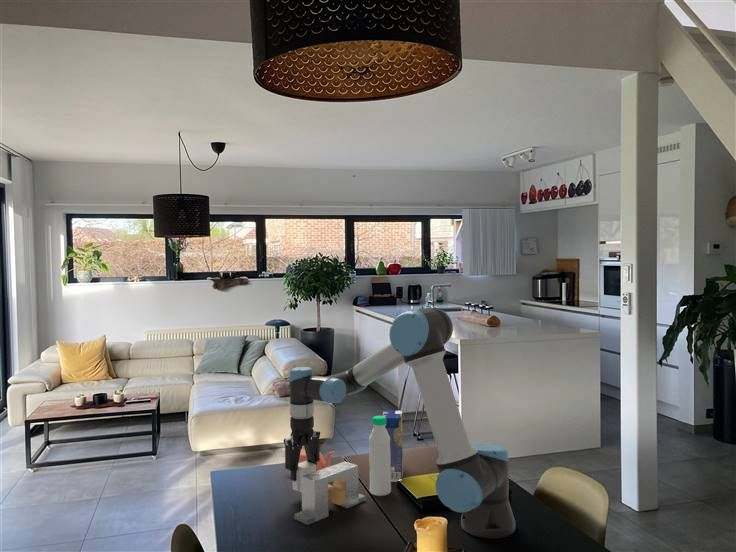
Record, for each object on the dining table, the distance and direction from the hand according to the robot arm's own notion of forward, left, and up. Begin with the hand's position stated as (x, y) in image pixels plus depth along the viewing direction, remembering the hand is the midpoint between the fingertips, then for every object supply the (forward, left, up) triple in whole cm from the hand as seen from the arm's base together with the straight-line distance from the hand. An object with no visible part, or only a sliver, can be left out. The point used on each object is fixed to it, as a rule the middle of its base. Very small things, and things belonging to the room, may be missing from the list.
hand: (303, 487), depth 194 cm
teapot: (+15, -16, -4) cm, 22 cm away
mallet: (-8, 0, 0) cm, 8 cm away
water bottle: (-15, -20, -4) cm, 25 cm away
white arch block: (-13, 0, -3) cm, 14 cm away
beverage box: (-8, -34, -4) cm, 35 cm away
